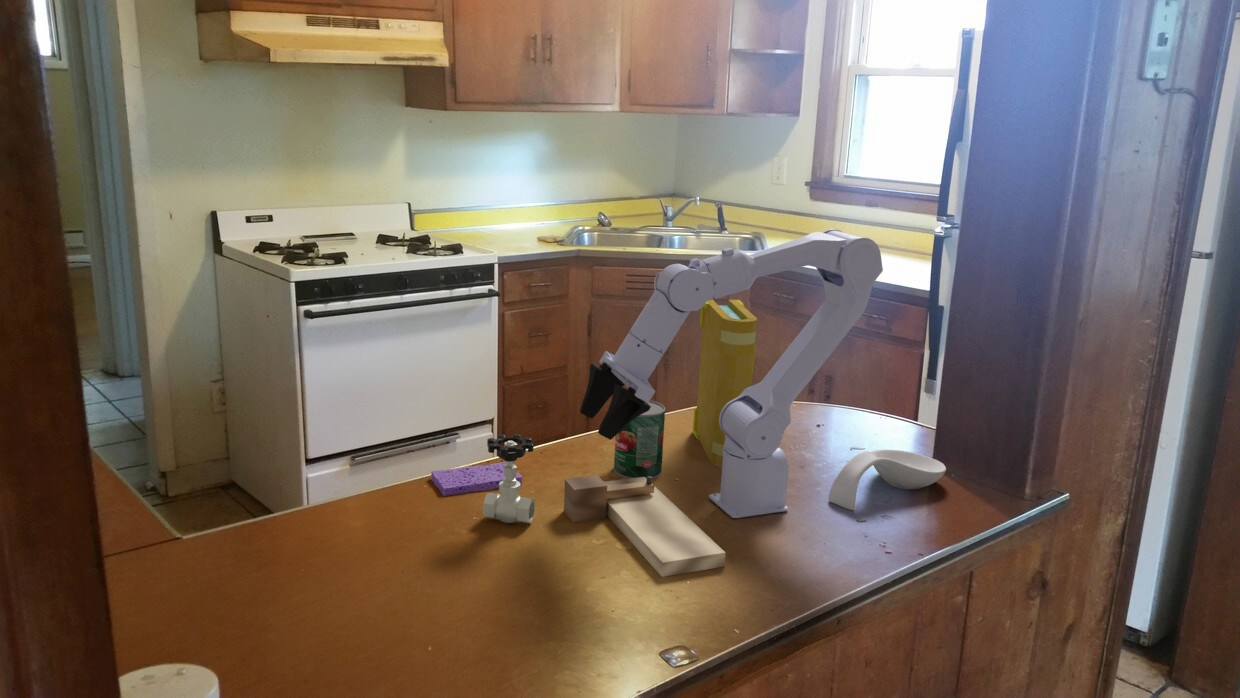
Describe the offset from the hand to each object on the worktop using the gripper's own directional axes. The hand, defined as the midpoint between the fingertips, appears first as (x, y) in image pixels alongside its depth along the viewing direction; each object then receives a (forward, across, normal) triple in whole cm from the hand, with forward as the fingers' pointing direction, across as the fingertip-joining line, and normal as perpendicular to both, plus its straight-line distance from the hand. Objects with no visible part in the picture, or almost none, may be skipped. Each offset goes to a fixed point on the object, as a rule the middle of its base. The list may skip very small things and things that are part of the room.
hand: (594, 425), depth 128 cm
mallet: (+10, -1, +10) cm, 15 cm away
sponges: (+20, -16, -3) cm, 26 cm away
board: (+8, +6, +13) cm, 17 cm away
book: (-3, -19, +35) cm, 40 cm away
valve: (+18, -1, -3) cm, 18 cm away
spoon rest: (-12, +4, +50) cm, 51 cm away
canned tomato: (+6, -14, +19) cm, 24 cm away
